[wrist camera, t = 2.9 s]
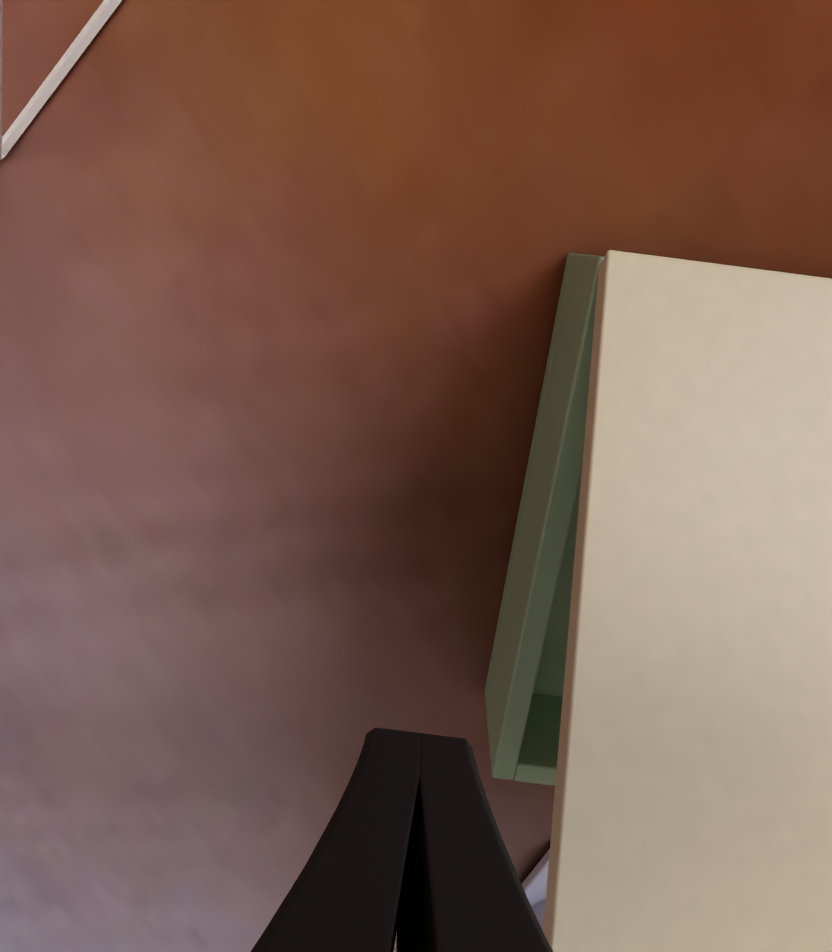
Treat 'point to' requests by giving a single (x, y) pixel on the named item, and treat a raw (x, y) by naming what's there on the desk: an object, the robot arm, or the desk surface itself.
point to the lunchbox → (544, 551)
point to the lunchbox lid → (699, 620)
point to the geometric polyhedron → (52, 74)
